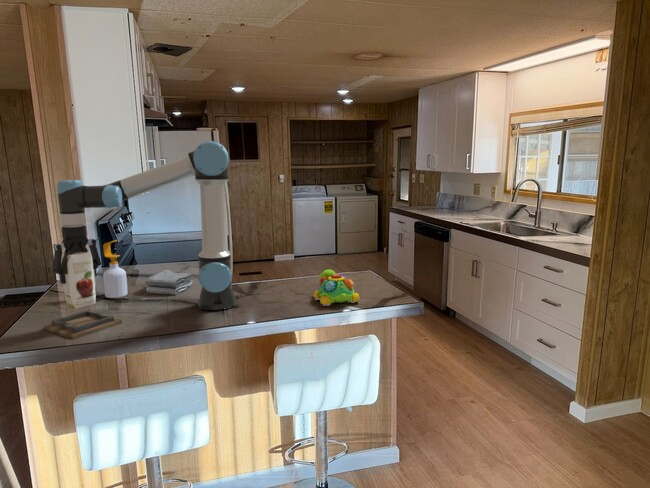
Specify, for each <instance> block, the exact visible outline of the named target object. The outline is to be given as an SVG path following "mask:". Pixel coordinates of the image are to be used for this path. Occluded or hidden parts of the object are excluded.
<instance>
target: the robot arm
mask: <svg viewBox="0 0 650 488" xmlns="http://www.w3.org/2000/svg"><path fill="white" fill-rule="evenodd" d="M229 160H230V157H229V153H228V151H227V149H226V148H225V146H224V145H223V144H222V143H220V142H217V141H213V140H210V141H209V140H208V141H204V142H201V143H200V144H198V145H197V147H196V148H195V149H194V150H193V151H191V152H187V154H186V155H185V157H182V158H179V159H176V160H174V161H170V162H167V163H164V164H162V165H158V166H156V167H154V168H150V169H147V170H145V171H143V172H139V173H136V174H132V175H131V176H127V177H125V178H123V179H122V178H121V179H120V180H116V181H113V182H110V183H107V184H104V185H102V184H101V185H84V184H83V182H82V180H80V179H69V180H68V179H66V180H64V179H63V180H58V181H57V184H56V185H57V189H56V190H57V194H56V195H57V201H58V202H57V203H58V208H59V209H58V210H59V218H60V219H59V220H60V225H61V228H60V229H61V236H62V242H61V243H54V244H53V250H54V254H53V263H52V264H53V265H52V273H53V274H57V275H58V277H59V283H60V284H61V285H62V290H63V292H64V294H65V293H70V288H69V278H68V274H66V271H67V260H68V259H67V258H68V257H67V256H68V255H72V254H73V253H76V252H91V256H92V261H93V272H94V283H95V287H96V286H97V285H96V277H97V275H98V274H97V269H98V268H99V266H101V265H102V262H101V259H100V255H99V251H98V248H97V240H96V239H95V238H89V239H88V238H87V237H88V236H87V235H88V234H87V233H88V232H87V226H86V224H87V221H86V212H85V211H86V210H85V209H90V208H91V209H92V208H93V209H94V208H101V209H102V208H105V209H106V208H109V209H112V208H120V207H121V206H122V203H123V202H124V201H127V200H130V199H132V198H135V197H138V196H141V195H143V194H147V193H149V192H152V191H155V190H157V189H160V188H164V187H165V186H169V185H171V184H174V183H178V182H180V181H183V180H185V179H188V178H192V177H195V178H194V179H195V181H196V183H198V184H199V192H200V193H199V195H200V219H201V221H200V222H201V244H202V250H201V251H200V252H199V254H198V274H197V280H198V282H199V284H200V286H201V290H200V293H199V298H198V303H197V306H199V307H198V309H200V308H201V309H200V310H202V309H206V310H205V311H207V310H217V309H224V308H228V307H231V306H233V305H235V304H236V305H237V298H236V296H235V293H234V289H233V287H232V280H233V275H232V274H233V273H232V259H231V258H232V257H231V252H230V250H228V249H227V229H226V228H227V227H226V226H227V224H226V193H225V192H226V191H225V190H226V189H225V188H226V187H225V185H226V184H227V183H228V182H229V180H230V179H229V177H230V175H229ZM87 245H88V247H87ZM64 248H65V250H64V252H63V249H64ZM88 248H89V249H88ZM62 253H64V257H63V260H62V263H61V259H62ZM236 305H235V306H236Z"/></svg>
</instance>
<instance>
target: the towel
mask: <svg viewBox="0 0 650 488" xmlns="http://www.w3.org/2000/svg"><path fill="white" fill-rule="evenodd" d="M193 282H194V274H193V273H186V272H174V271H172V270H170V269H168V268H166V269H163V270H162V271H160V272H158V273H155V274H153V275H151V276H149V277H148V278H147V279H146V281H145V285H146V292H147V293H151V294H161V295H171V296H172V295H173V296H174V295H179V294H181V293H182V292H183V291H186V289H188V288H189V287H191V286H193Z"/></svg>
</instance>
